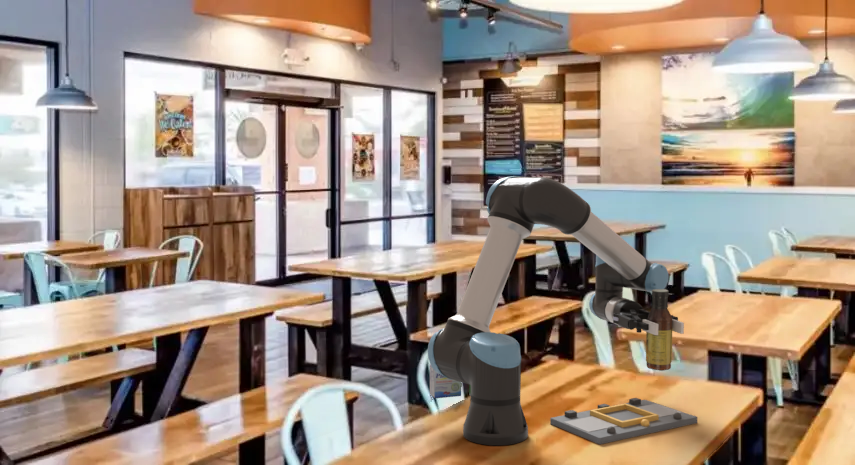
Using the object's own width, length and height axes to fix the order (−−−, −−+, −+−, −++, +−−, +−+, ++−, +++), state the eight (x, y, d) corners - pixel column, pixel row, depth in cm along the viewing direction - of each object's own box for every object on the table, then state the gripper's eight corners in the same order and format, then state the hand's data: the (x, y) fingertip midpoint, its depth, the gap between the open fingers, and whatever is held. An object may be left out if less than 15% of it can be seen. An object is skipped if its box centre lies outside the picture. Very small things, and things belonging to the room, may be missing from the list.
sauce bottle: (652, 364, 225) (654, 287, 224) (675, 368, 221) (678, 289, 220) (640, 368, 220) (643, 289, 219) (664, 372, 216) (667, 292, 215)
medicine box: (433, 398, 239) (433, 367, 238) (429, 394, 243) (429, 363, 243) (461, 396, 241) (461, 365, 240) (456, 392, 245) (456, 361, 245)
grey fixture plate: (599, 444, 200) (599, 431, 200) (550, 423, 216) (550, 412, 216) (697, 422, 216) (697, 411, 215) (644, 405, 231) (645, 394, 231)
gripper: (656, 325, 240) (704, 342, 218) (591, 328, 235) (633, 346, 213) (657, 297, 239) (705, 311, 217) (592, 300, 234) (634, 315, 212)
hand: (669, 328), depth 215 cm, fingers closed on sauce bottle, 6 cm apart
